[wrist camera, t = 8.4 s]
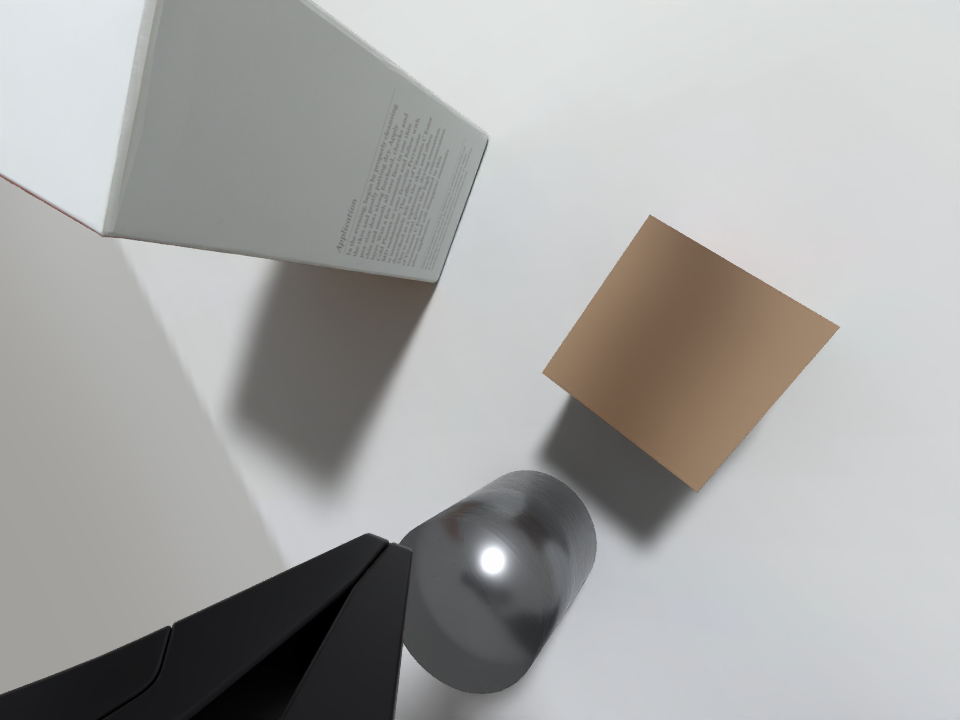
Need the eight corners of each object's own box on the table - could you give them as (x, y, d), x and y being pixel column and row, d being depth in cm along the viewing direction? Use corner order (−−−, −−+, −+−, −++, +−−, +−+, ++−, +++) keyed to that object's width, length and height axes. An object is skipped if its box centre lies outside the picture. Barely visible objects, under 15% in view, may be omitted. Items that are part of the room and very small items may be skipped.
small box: (303, 226, 25) (-79, 135, 13) (343, 88, 24) (-47, -148, 12) (440, 289, 22) (95, 241, 10) (496, 134, 20) (168, -125, 9)
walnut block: (813, 328, 16) (840, 327, 12) (709, 451, 18) (697, 492, 13) (673, 244, 18) (650, 214, 13) (588, 363, 19) (541, 372, 15)
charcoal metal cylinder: (624, 559, 19) (578, 648, 14) (524, 620, 21) (449, 720, 16) (540, 445, 20) (467, 485, 15) (453, 512, 22) (360, 571, 17)
